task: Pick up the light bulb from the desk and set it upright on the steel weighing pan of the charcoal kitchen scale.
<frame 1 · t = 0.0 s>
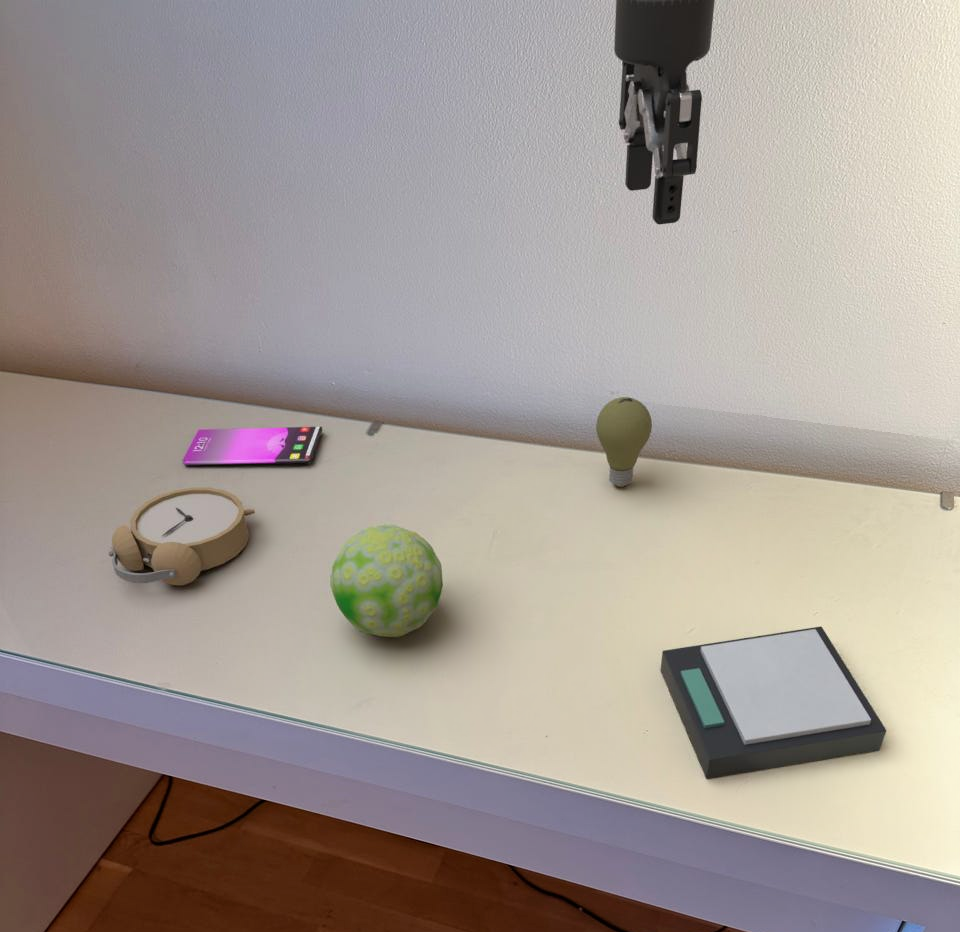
hand: (651, 204, 85), 28 cm above the table, tool pointing down, fingers open, 8 cm apart
light bulb: (620, 485, 102), on the table
alarm clock: (184, 555, 98), on the table
smartphone: (254, 450, 111), on the table
scale: (764, 708, 78), on the table
decorative ball: (393, 624, 89), on the table
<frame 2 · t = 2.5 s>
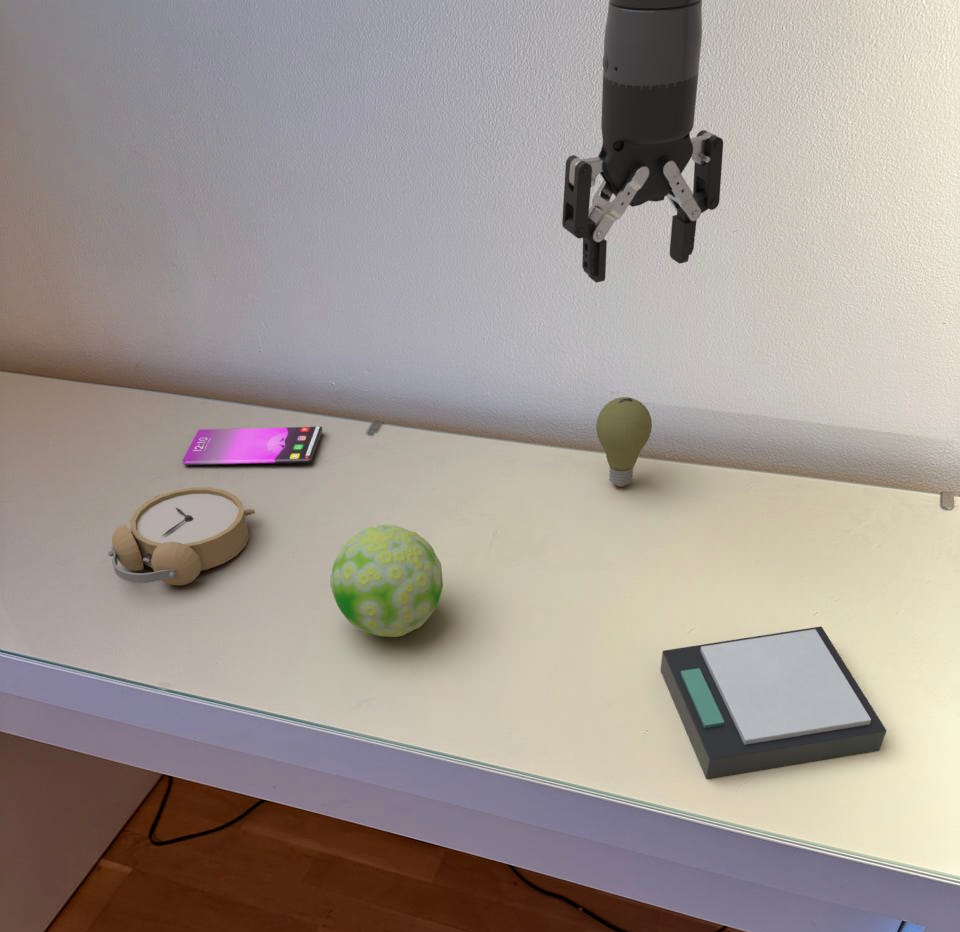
hand: (637, 269, 87), 23 cm above the table, tool pointing down, fingers open, 8 cm apart
nothing on the table moved.
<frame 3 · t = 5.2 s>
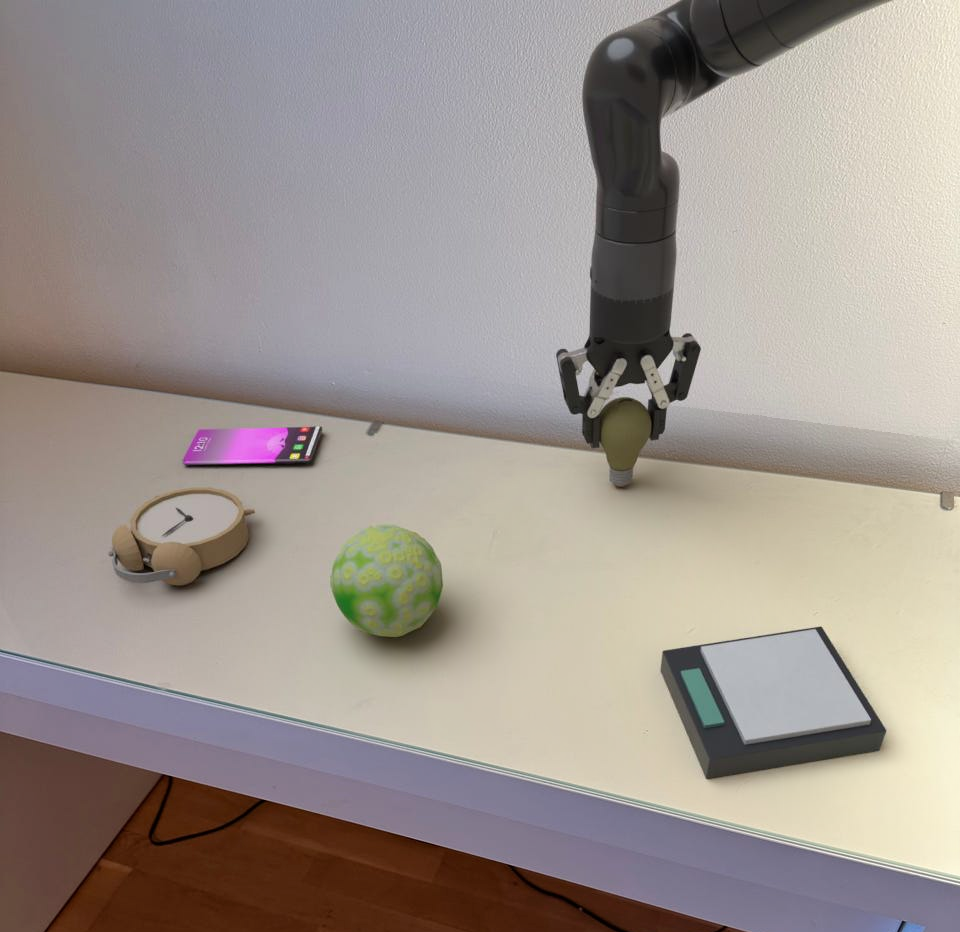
hand: (623, 439, 99), 6 cm above the table, tool pointing down, fingers closed on light bulb, 5 cm apart
light bulb: (620, 485, 102), on the table, touching gripper
everything else where it was.
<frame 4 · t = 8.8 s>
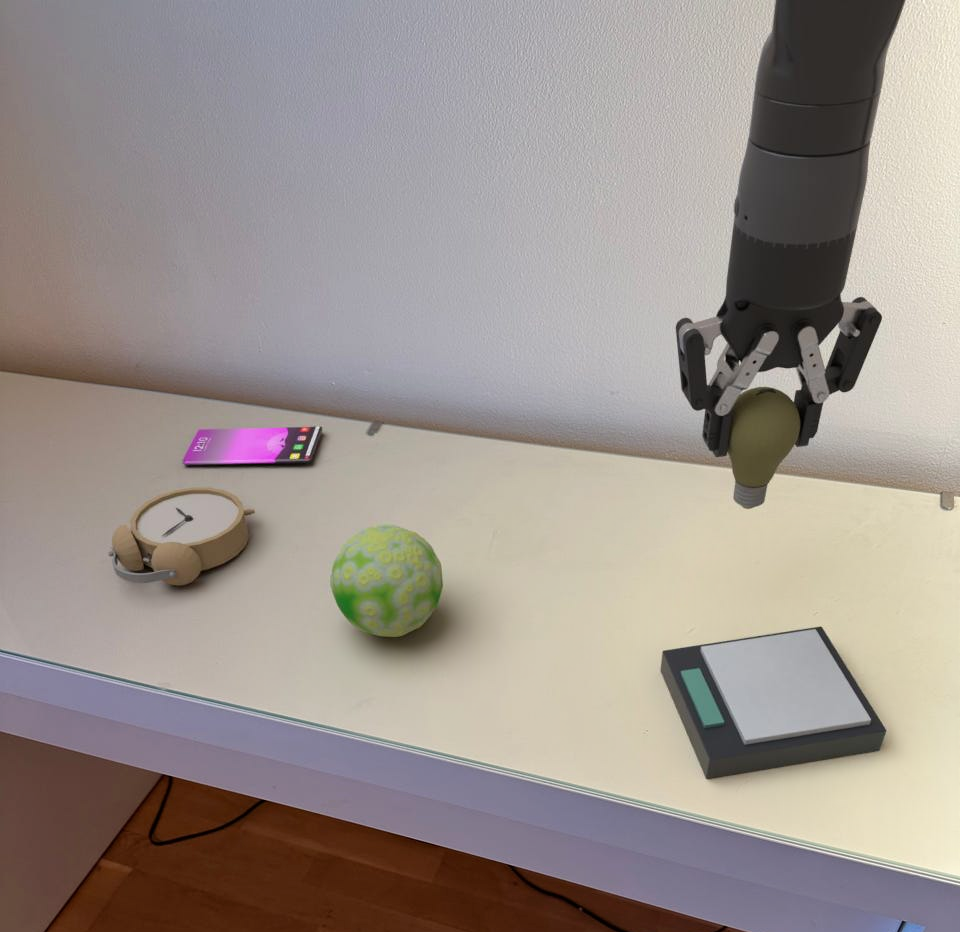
hand: (757, 445, 72), 19 cm above the table, tool pointing down, fingers closed on light bulb, 5 cm apart
light bulb: (747, 507, 76), point 14 cm above the table, touching gripper
everything else where it was.
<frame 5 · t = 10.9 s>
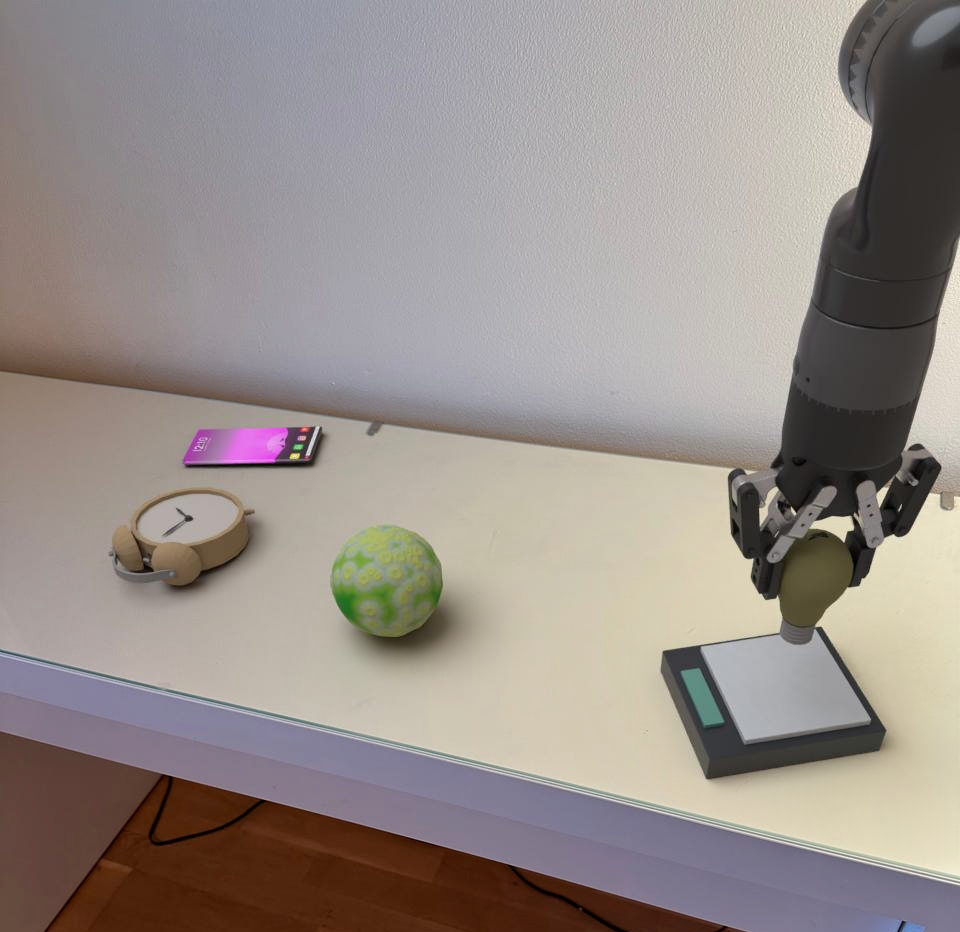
hand: (807, 585, 69), 13 cm above the table, tool pointing down, fingers closed on light bulb, 5 cm apart
light bulb: (793, 642, 73), point 7 cm above the table, touching gripper
everything else where it was.
when the fingers open (9 cm above the table, at t = 12.6 s): light bulb stays where it is, resting on scale.
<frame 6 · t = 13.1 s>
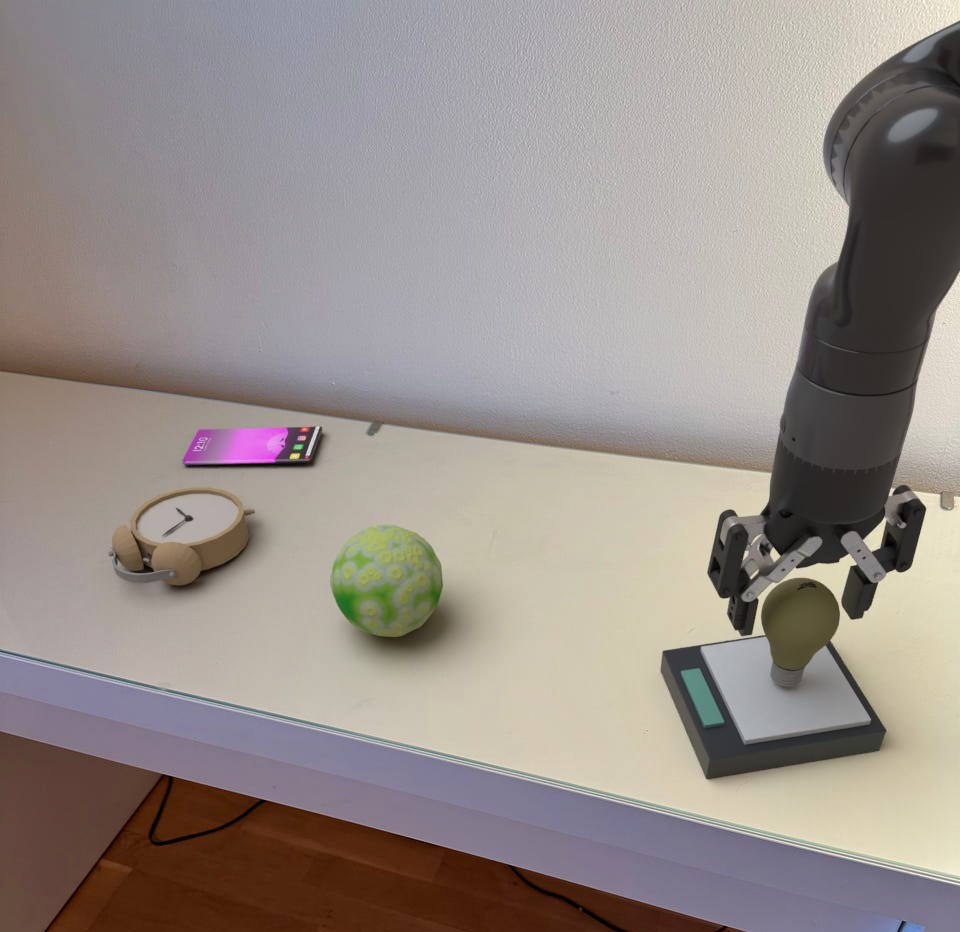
hand: (796, 620, 72), 10 cm above the table, tool pointing down, fingers open, 8 cm apart
light bulb: (783, 683, 77), point 3 cm above the table, touching scale
everything else where it was.
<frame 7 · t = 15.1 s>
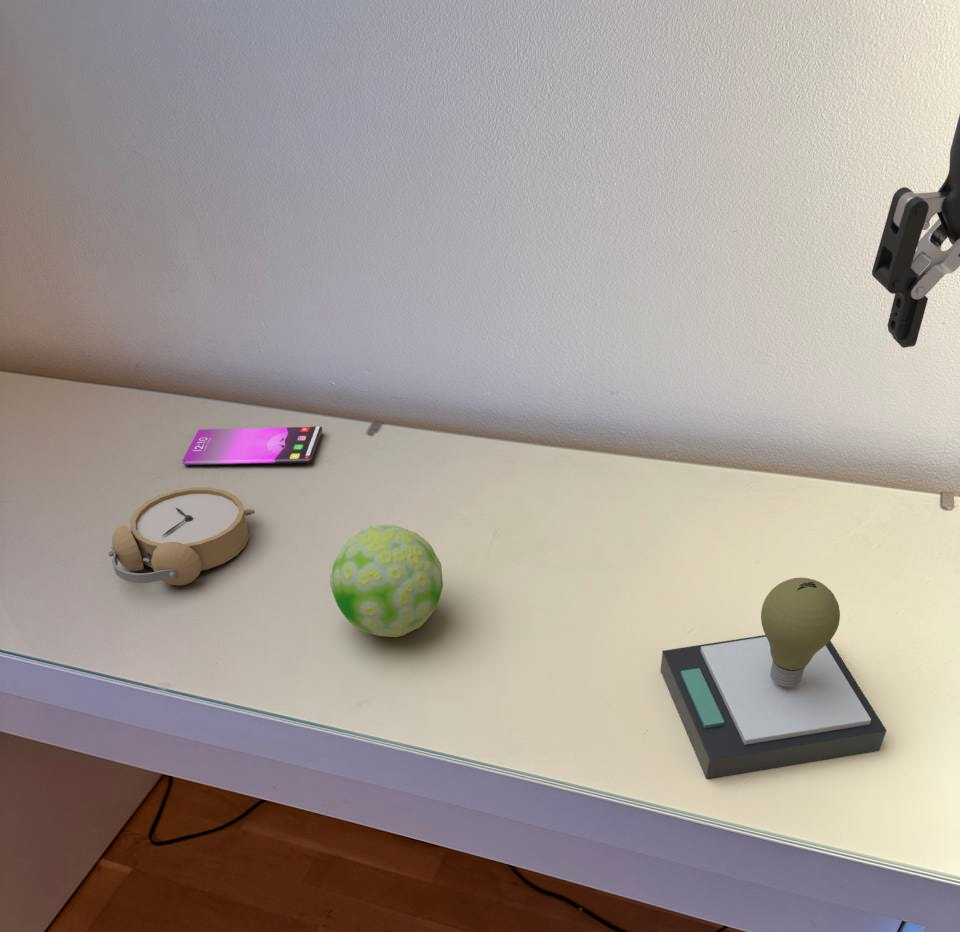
nothing on the table moved.
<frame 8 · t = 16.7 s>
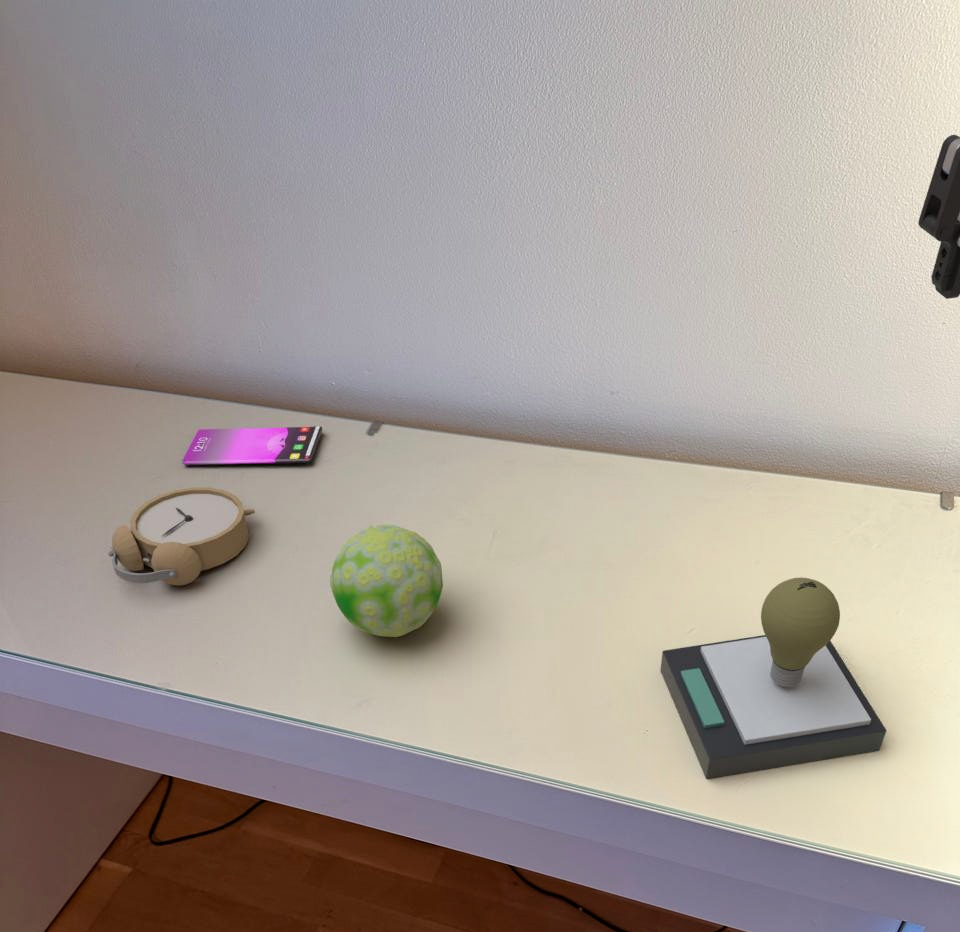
nothing on the table moved.
at the end: light bulb inside the target area on the scale (0.1 cm from its centre), point 2.8 cm above the scale's base; light bulb tilted 0°; the gripper is holding nothing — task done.
